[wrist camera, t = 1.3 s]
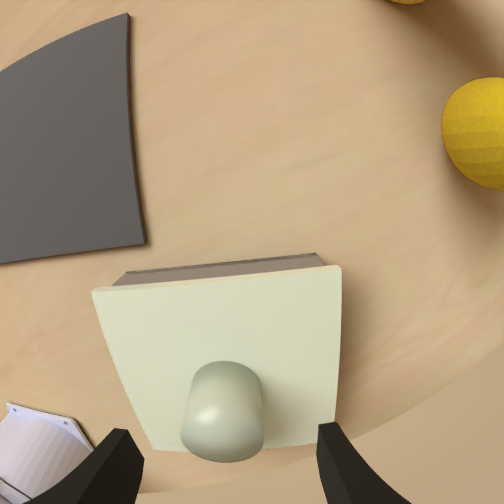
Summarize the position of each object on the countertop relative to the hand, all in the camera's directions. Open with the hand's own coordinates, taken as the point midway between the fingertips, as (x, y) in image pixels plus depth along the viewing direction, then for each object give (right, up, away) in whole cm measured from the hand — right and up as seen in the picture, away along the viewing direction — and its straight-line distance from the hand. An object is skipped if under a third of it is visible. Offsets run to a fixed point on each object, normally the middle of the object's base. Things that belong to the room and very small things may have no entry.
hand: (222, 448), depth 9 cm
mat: (-11, +13, +4) cm, 18 cm away
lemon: (+13, +14, +4) cm, 19 cm away
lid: (0, +1, +5) cm, 5 cm away
